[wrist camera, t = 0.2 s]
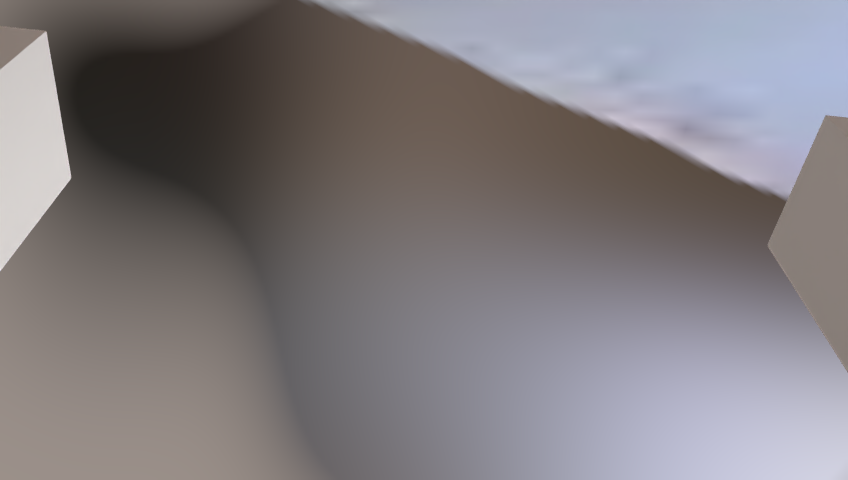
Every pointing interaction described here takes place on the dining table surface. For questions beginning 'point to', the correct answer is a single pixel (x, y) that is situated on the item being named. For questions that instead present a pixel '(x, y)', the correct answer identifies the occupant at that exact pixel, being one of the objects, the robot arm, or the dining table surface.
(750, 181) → the dining table surface
